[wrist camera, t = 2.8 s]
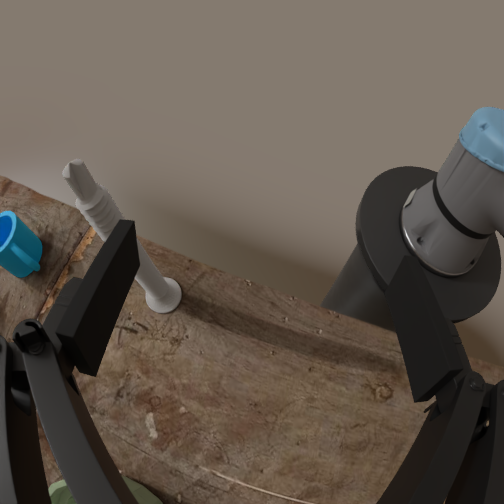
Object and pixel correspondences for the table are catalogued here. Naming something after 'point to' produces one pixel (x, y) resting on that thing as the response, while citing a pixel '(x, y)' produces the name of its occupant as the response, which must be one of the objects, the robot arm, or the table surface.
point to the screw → (103, 222)
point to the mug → (18, 246)
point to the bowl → (147, 500)
